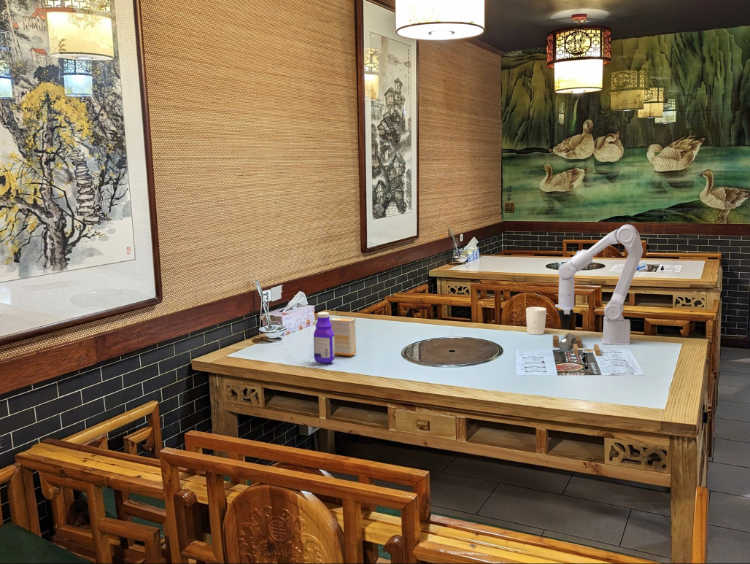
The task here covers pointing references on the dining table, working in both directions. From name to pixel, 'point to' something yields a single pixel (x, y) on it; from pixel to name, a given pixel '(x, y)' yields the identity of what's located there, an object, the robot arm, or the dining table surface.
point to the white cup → (535, 320)
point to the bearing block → (556, 341)
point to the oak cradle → (596, 349)
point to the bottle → (324, 339)
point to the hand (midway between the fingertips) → (565, 328)
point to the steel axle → (567, 341)
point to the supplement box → (344, 335)
